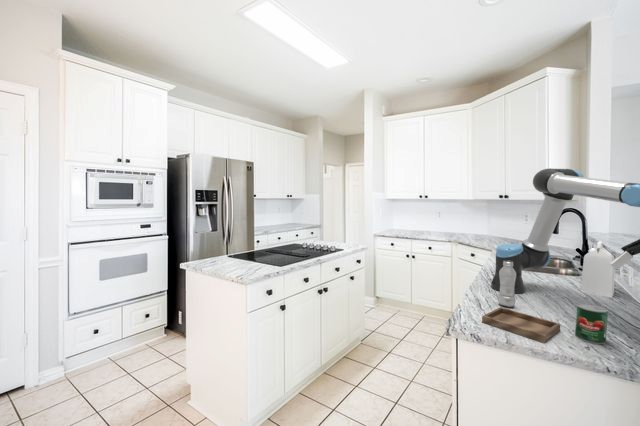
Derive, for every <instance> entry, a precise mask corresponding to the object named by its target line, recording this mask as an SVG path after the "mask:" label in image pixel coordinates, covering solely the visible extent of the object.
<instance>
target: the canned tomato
mask: <svg viewBox="0 0 640 426" xmlns="http://www.w3.org/2000/svg"><path fill="white" fill-rule="evenodd" d="M608 314H609V310H608V308H606V307H605V306H604V307H603V306H601V305H596V304H592V303H586V302H585V303H584V302H583V303H582V302H579V303H577V304H576V313H575V330H574V331H575V333H574V337H576V338H577V339H579V340H581V341H583V342H587V343H590V344H596V345H604V344H606V343H607V332H608V329H607V328H608V316H609V315H608Z"/></svg>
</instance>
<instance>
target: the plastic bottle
mask: <svg viewBox="0 0 640 426" xmlns="http://www.w3.org/2000/svg"><path fill="white" fill-rule="evenodd" d="M503 265H504V266H503V267H502V268H501V269H500V271H499V277H500V291H498V292H499V293H498V296H497V300H498V303H499V304H500V305H501V306H503V307H506V308H507V307H509V308H513V307H515V305H516V295H515V293H514V286H515V280H516V272H515V270H514V269H513V267H512V266H513V262H512V261H503Z"/></svg>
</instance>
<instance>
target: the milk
mask: <svg viewBox="0 0 640 426" xmlns="http://www.w3.org/2000/svg"><path fill="white" fill-rule="evenodd" d="M603 244H604V241H597V244H596V247H595V248H593V247H592V248H590V249H588V250H587V251H588V252H587V253H586V254H584V256H583V263H582V273H581V281H580V283H581V284H580V293H584V294H588V295H589V294H590V295H595V296H599V297H600V296H601V297H605V298H613V296H614V295H615V268H614V267H613V266H612V265H611V264H610V263H612V262H613V261H614V260H615V256H614V255H613V254H612V253H611V252H610V251H608V250H607V249H606V248H604V246H603Z"/></svg>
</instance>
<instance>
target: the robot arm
mask: <svg viewBox="0 0 640 426" xmlns="http://www.w3.org/2000/svg"><path fill="white" fill-rule="evenodd" d="M532 185H533V187H534V189H535V190H536V191H538V192H540V193H542V194H543V196H544V199H543V201H542V204H541V207H540V209H539V210H538V211H539V212H538V213H537V216H536V218H535V221H534V223H533V225H532V228H531V231H530V233H529V235H528V238H527V239H524V240H523V241H522V242H521V244H517V243H504V244H499V245H498V246H497V247H496V251H495V271H494V272H495V273H494V275H493V278H492V279H491V282H490V287H491V289H493V290H495V291H498V292H500V277H499V271H500V269H501V268H502V267H503V266H504V265H503V261H512V262H513V266H512V267H513V269H514V270H515V272H516V280H515V286H514V293H515V294H517V295H519V294H524V293H525V292H526V287H525V282H524V280H523V276H522V273H523V270H529V269H531V270H532V269H533V270H534V269H535V270H538V269H542V268H545V267H546V266H548V265H549V264H550V262H551V259H552V257H551V253H550V247H549V246H548V244H549V242H550V239H552V235H553V233H554V231H555V229H556V226H557V224H558V222H559V221H560V217H561V216H562V213H563V211H564V209H565V206H566V204H567V203H568V202H571V201H573V198H574V196H579V197H585V198H591V199H597V200H602V201H608V202H614V203H621V204H626V205H627V206H629V207H634V208H640V183H637V182H635V183H634V182H627V181H619V180H608V179H601V178H594V177H593V178H592V177H585V176H584V174H583V173H581V171H579V170H576V169H572V168H544V169H541V170H539V171H538V172H536V174H535V175H534V176H533V179H532ZM620 249H621V250H622V253H621V254H620V255H618V256H617V257H616V258H614V261H613V262H612V263H610V264H611V265H612V266H613V267H614V270H619V269H621V267H623V266H624V265H626V264H627V263H629V261H631V260H632V259H633V258H634V256H635V255H638V254H640V238H639V239H637V240H634V241H633V242H631V243H629V244H627V245H623V246H622V247H621V248H620Z"/></svg>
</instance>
